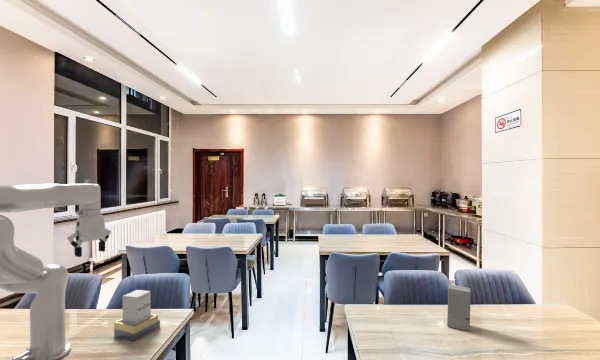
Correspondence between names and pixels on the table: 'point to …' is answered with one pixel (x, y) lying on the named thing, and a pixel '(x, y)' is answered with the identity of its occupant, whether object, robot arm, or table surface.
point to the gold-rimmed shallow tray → (136, 328)
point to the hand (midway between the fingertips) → (90, 253)
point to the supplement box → (136, 307)
